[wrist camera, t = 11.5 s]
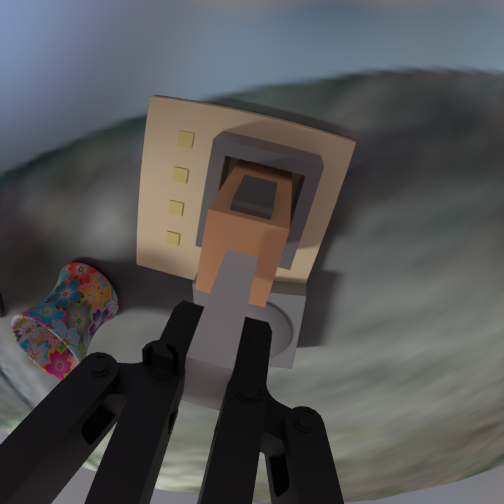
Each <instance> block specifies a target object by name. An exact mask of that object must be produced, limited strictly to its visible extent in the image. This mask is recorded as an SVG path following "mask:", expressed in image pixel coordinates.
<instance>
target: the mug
mask: <svg viewBox="0 0 504 504" xmlns="http://www.w3.org/2000/svg"><path fill="white" fill-rule="evenodd" d="M118 307H119V303H118V298H117V294H116V292H115V290H114V288H113V286H112V285H111V283H110V282H109V281H108V280H107V278H106V277H105V276H104V275H103V274H101V273H100V272H99V271H98V270H96V269H95V268H93V267H91V266H89V265H87V264H83V263H77V262H74V263H69V264H67V265H65V266H64V267H63V268H62V269H61V271H60V274H59V278H58V281H57V284H56V285H55V287H54V289H53V290H52V291H51V293H50V294H49V295H48V296H47V297H46V298H45V299H44V300H43V301H41V302H40V303H39V304H37V305H36V306H34V307H32V308H30V309H28V310H26V311H24V312H21V313H18V314H16V315H15V316H14V317H13V318H12V321H11V328H12V332H13V335H14V337H15V339H16V341H17V343H18V344H19V346H20V347H21V349H22V350H23V351H24V352H25V354H26V355H27V356H28V357H29V358H30V359H31V360H32V361H33V362H34V363H35V364H37V365H38V366H39V367H40V368H42V369H43V370H44V371H46V372H48V373H49V374H51V375H53V376H55V377H57V378H59V379H62V380H63V379H64V378H65V377H66V376H67V375H68V374H69V373H70V372H71V371H72V370H73V369H74V368H75V367H76V366H77V365H78V364H79V363H80V362H81V361H82V360H83V359H84V358H85V357H86V354H87V350H88V347H89V344H90V342H91V339H92V337H93V335H94V334H95V332H96V331H97V330H98V328H99V327H100V326H101V325H102V324H104V323H105V322H107V321H109V320H111V319H112V318H114V317H115V315H116V314H117V311H118Z"/></svg>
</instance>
